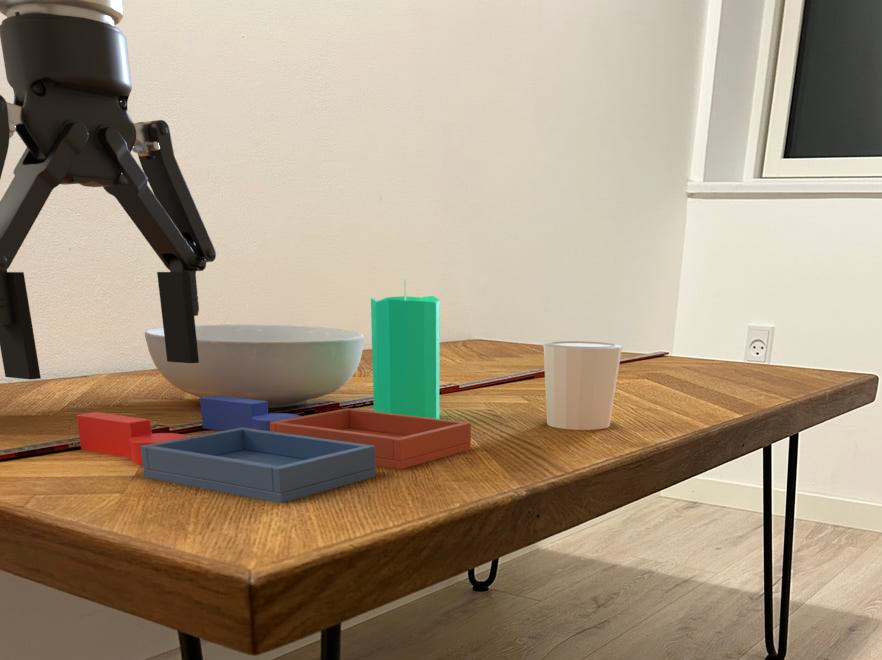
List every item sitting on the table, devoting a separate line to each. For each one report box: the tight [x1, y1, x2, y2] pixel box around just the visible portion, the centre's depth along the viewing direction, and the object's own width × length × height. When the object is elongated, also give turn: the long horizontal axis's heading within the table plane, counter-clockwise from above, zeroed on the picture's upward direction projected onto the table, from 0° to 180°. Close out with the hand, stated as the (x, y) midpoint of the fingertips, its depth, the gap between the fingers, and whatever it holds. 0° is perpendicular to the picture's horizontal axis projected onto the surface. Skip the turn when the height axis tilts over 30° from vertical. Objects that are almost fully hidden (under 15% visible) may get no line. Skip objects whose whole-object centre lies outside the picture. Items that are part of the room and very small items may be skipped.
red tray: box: [270, 407, 472, 470], centre depth 72 cm, size 12×9×2 cm
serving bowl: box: [144, 323, 365, 409], centre depth 94 cm, size 21×21×7 cm
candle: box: [370, 279, 441, 419], centre depth 84 cm, size 6×6×12 cm
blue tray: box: [141, 428, 377, 504], centre depth 63 cm, size 12×9×2 cm
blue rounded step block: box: [199, 395, 302, 432], centre depth 78 cm, size 10×4×3 cm, turn 58°
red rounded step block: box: [76, 411, 189, 466], centre depth 69 cm, size 10×4×3 cm, turn 58°
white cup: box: [543, 340, 623, 431], centre depth 84 cm, size 7×7×7 cm
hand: (109, 370), depth 68 cm, fingers open, 13 cm apart
